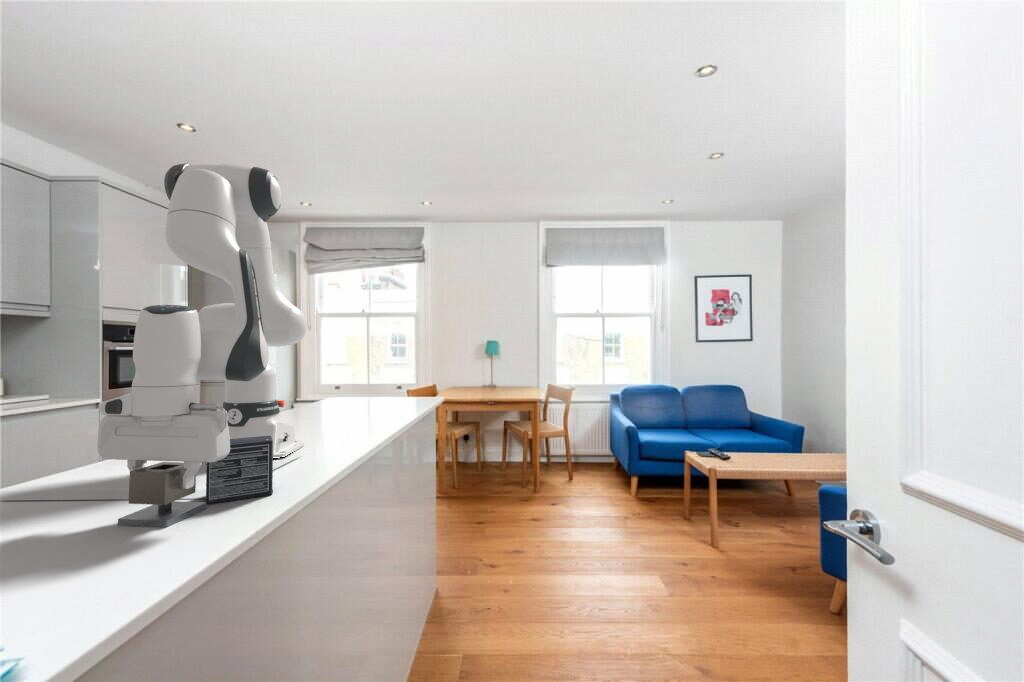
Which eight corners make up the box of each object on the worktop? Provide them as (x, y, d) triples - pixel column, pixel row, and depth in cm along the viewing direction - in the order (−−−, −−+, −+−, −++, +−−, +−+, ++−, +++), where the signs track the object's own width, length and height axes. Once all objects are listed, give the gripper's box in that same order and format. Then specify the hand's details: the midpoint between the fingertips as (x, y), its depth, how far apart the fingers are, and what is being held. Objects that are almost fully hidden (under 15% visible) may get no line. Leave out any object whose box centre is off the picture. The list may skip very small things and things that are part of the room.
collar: (162, 491, 74) (162, 461, 74) (195, 492, 73) (196, 462, 73) (128, 503, 68) (129, 471, 68) (164, 504, 67) (165, 472, 67)
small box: (270, 486, 87) (272, 433, 87) (273, 495, 81) (274, 439, 82) (206, 495, 81) (208, 439, 81) (204, 505, 76) (206, 446, 76)
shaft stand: (162, 506, 75) (163, 472, 75) (206, 508, 74) (207, 473, 75) (117, 525, 67) (118, 486, 67) (166, 527, 66) (167, 488, 67)
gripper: (240, 401, 73) (238, 483, 73) (127, 399, 75) (124, 479, 74) (212, 406, 67) (209, 495, 67) (89, 403, 68) (86, 491, 68)
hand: (164, 487), depth 71 cm, fingers closed on collar, 6 cm apart
